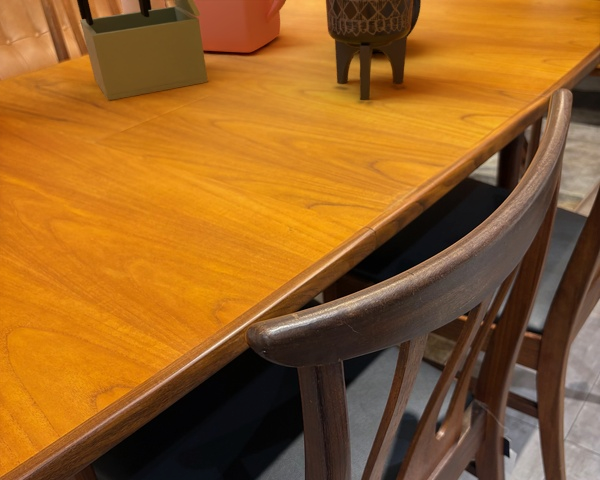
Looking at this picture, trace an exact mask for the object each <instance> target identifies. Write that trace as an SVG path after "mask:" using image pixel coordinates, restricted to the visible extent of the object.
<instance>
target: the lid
mask: <svg viewBox="0 0 600 480" xmlns="http://www.w3.org/2000/svg"><path fill="white" fill-rule="evenodd" d="M173 3H174V4H175V6H179V7H180V8H182V9H183V10H185V11H187V12H188V13H191V14H192V15H194V16H196V17H197V16H199V15H200V13H199V11H198V9H197V7H196V5H195V3H194V1H193V0H173Z"/></svg>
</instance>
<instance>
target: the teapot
mask: <svg viewBox="0 0 600 480" xmlns="http://www.w3.org/2000/svg"><path fill="white" fill-rule="evenodd" d="M193 1H194V3H195V5H196V7H197V9H198V11H199V13H200V15H199V16H197V17H196V16H195V17H196V18H198V19H199V25H200V32H201V39H202V45H203V51H211V52H227V53H228V52H229V53H253V52H254V51H257V50H259V49H260V48H262V47H264V46H265V45H267V44H268V43H270V42H271V41H273V40H275V38H277V37H278V36H279V35H280V32H281V13H280V11H281V9H282V8H283V7H284V5H285V3H286V1H287V0H193ZM190 14H191V13H190ZM191 15H192V14H191ZM193 16H194V15H193Z"/></svg>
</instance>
